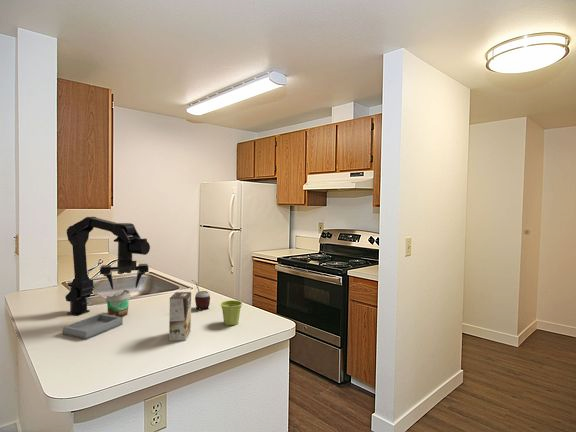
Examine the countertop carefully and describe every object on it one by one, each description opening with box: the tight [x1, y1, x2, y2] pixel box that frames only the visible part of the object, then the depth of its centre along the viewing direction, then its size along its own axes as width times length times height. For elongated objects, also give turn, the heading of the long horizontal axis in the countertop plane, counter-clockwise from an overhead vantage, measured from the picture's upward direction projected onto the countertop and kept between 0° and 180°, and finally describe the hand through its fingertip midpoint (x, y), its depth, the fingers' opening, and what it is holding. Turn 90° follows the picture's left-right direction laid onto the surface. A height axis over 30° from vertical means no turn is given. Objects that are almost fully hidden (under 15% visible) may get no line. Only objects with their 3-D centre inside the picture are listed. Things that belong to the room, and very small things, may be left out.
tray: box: [62, 313, 124, 341], centre depth 139 cm, size 12×17×3 cm
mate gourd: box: [191, 279, 211, 312], centre depth 167 cm, size 8×8×15 cm
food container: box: [105, 289, 131, 318], centre depth 155 cm, size 12×6×10 cm, turn 168°
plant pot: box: [219, 300, 243, 326], centre depth 149 cm, size 9×9×9 cm
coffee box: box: [168, 291, 192, 342], centre depth 134 cm, size 9×6×16 cm
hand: (124, 288), depth 151 cm, fingers open, 9 cm apart
